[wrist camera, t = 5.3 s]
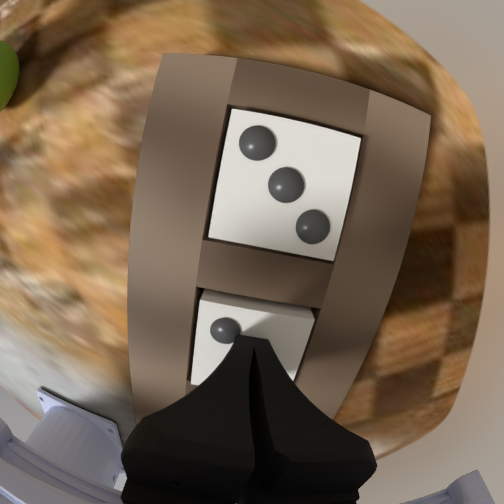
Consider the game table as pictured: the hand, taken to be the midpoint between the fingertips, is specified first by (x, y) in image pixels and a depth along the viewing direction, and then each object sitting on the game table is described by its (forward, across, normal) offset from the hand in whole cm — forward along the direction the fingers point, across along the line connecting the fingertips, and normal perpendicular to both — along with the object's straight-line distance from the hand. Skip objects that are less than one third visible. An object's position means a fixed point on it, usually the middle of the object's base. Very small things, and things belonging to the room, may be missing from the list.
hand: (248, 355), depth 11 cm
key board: (+2, 0, 0) cm, 2 cm away
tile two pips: (+3, 0, 0) cm, 3 cm away
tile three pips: (+2, 0, -7) cm, 7 cm away
